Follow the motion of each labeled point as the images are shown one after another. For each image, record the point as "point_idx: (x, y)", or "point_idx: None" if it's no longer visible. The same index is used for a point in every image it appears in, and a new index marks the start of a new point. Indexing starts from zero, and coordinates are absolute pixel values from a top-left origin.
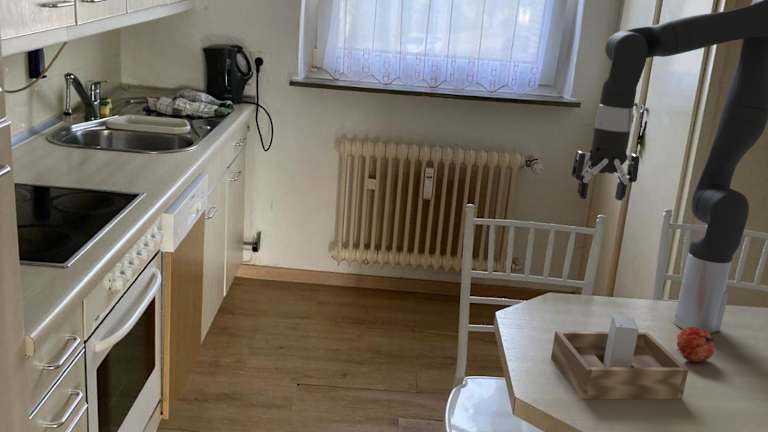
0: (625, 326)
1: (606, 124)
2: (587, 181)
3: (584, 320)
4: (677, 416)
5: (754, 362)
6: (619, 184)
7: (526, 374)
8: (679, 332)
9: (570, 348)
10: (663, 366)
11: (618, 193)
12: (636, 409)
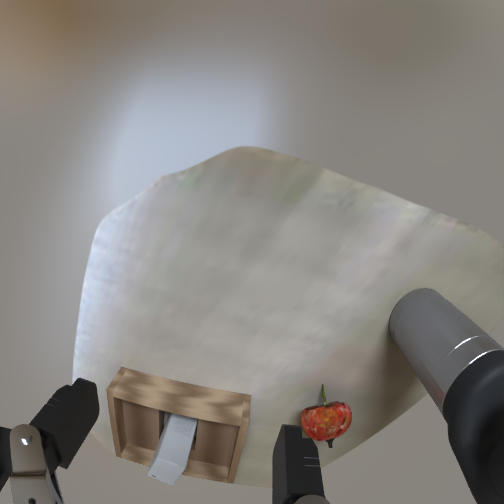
0: (158, 479)
1: None
2: (55, 474)
3: (234, 273)
4: None
5: (396, 412)
6: (280, 499)
7: None
8: (314, 412)
9: (112, 425)
10: (233, 448)
11: (278, 463)
12: None
